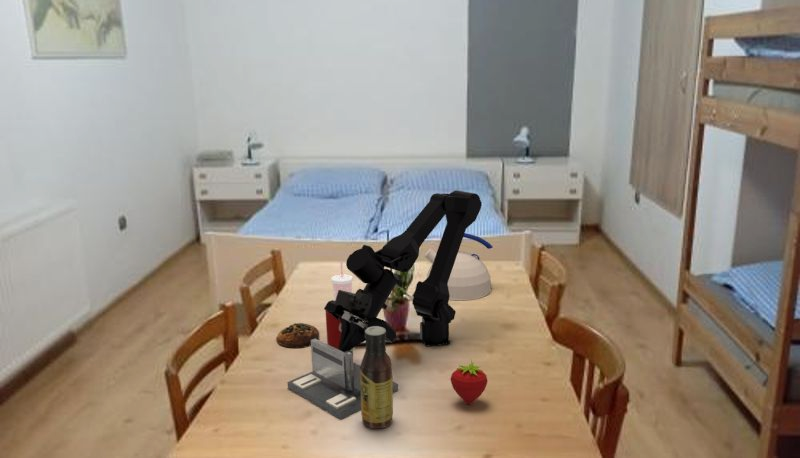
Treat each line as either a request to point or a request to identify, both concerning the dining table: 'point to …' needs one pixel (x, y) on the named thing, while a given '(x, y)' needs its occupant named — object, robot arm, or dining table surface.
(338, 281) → the beverage cup
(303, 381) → the label plate
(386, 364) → the sauce bottle
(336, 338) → the beverage can
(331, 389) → the metal base plate
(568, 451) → the dining table surface
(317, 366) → the grey slotted panel
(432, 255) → the kettle
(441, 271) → the robot arm
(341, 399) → the strip
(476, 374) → the strawberry
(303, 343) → the bread roll
